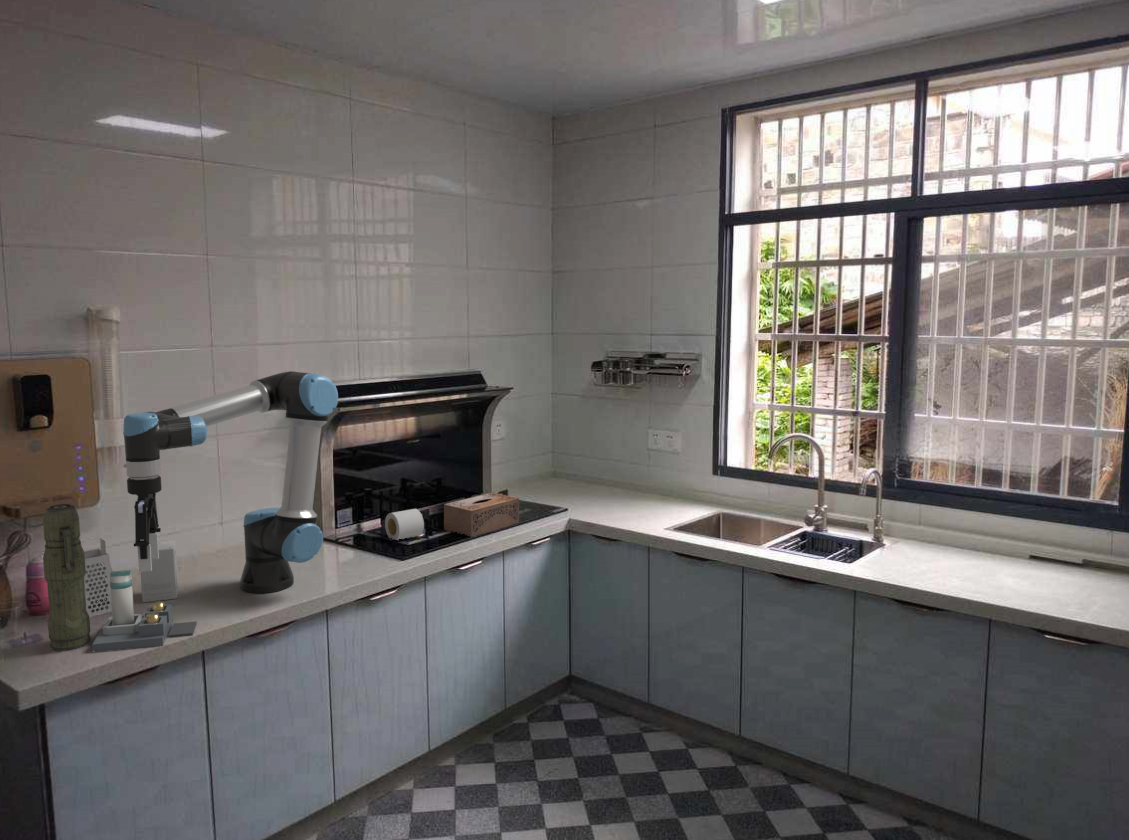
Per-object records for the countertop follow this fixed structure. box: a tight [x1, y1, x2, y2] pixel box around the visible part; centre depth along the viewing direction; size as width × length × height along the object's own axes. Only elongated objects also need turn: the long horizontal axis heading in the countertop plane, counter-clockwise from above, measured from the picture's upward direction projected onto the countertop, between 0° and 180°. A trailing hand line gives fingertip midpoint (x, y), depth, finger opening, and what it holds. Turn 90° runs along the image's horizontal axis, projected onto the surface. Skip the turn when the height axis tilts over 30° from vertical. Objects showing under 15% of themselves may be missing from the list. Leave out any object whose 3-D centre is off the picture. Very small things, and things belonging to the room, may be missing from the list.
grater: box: [80, 535, 113, 618], centre depth 231 cm, size 10×10×20 cm
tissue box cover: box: [443, 492, 520, 538], centre depth 321 cm, size 26×14×10 cm, turn 141°
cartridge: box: [110, 569, 135, 626], centre depth 214 cm, size 5×5×15 cm
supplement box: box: [140, 540, 179, 603], centre depth 243 cm, size 9×9×15 cm
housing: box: [91, 603, 174, 652], centre depth 215 cm, size 16×16×5 cm
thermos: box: [42, 503, 91, 652], centre depth 207 cm, size 9×12×35 cm
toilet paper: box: [384, 508, 425, 541], centre depth 304 cm, size 10×10×10 cm
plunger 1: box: [151, 600, 165, 611], centre depth 220 cm, size 3×3×4 cm
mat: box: [168, 621, 198, 638], centre depth 219 cm, size 6×8×1 cm
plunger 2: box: [146, 613, 159, 624], centre depth 212 cm, size 3×3×4 cm
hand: (149, 564), depth 210 cm, fingers open, 9 cm apart
